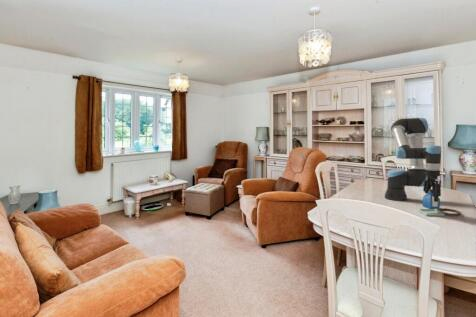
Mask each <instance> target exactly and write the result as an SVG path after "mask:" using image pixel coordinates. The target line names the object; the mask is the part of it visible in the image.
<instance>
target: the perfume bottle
mask: <svg viewBox="0 0 476 317" xmlns="http://www.w3.org/2000/svg"><path fill="white" fill-rule="evenodd" d="M428 193H429V194H426V195H424V196H423V197H422V207H423V208H424V209H435V210H437V209H440V208H441V198H439V197H440V196H439V197H438V206H437V207H433V206H432V196H433V190H432V188H431V189H429V191H428Z"/></svg>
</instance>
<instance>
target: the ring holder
mask: <svg viewBox="0 0 476 317" xmlns="http://www.w3.org/2000/svg"><path fill="white" fill-rule="evenodd" d="M436 210H437V211H439V212H441V213H443V214H445V216H449V217H460V216H461V215H462V211H459V210H457V209H453V208H448V207H447V208H446V207H444V208H443V207H440V209H436ZM447 211H448V212H447Z"/></svg>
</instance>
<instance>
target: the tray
mask: <svg viewBox="0 0 476 317" xmlns="http://www.w3.org/2000/svg"><path fill="white" fill-rule="evenodd" d="M417 212H419V213H420V214H422V215H423V216H425V217H445V216H446V215H445V214H443V213H441V212H442V211H441V212H439V211H437V209H428V208H417Z"/></svg>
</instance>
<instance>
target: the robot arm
mask: <svg viewBox="0 0 476 317" xmlns="http://www.w3.org/2000/svg"><path fill="white" fill-rule="evenodd" d="M428 131H429V124H428V121H427V119H426V118H424V117H413V118H412V117H411V118H407V117H406V118H400V119H397V120H396V121H394V122H393V123H392V125H391V126H390V134H391V135H393V137H394V142H395V144H396V147H397V148H396V149H395V158H396V159H398V160H399V159H401V160H406V159H407V160H409V167H408V168H407V170H406V169H404V168H402V169H400V168H397V169H391V170H388V171H387V184H386V185H387V186H386V188H387V189H386V190H385V193H384V198H385V199H387V200H391V201H397V202H400V201H401V202H403V201H407V199H408V196H407V193H406V190H405V187H416V188H417V187H418V188H420V187H423V190H422V191H423V192H424V193H425V195H426V194H429V193H428V191H429V189H432V190H433V196H432V206H433V207H437V206H438V197H441V195H442V192H441V191H442V189H441V184H442V181H441V180H439V177H440V176H441V167H442V166H441V164H442V161H441V160H442V159H441V158H442V153H443V152H442V146H441V145H426V146H425V147H424V136H425V135H426V133H427V132H428ZM408 138H409V140H408ZM424 160H425V165H424ZM425 195H424V196H425Z"/></svg>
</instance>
